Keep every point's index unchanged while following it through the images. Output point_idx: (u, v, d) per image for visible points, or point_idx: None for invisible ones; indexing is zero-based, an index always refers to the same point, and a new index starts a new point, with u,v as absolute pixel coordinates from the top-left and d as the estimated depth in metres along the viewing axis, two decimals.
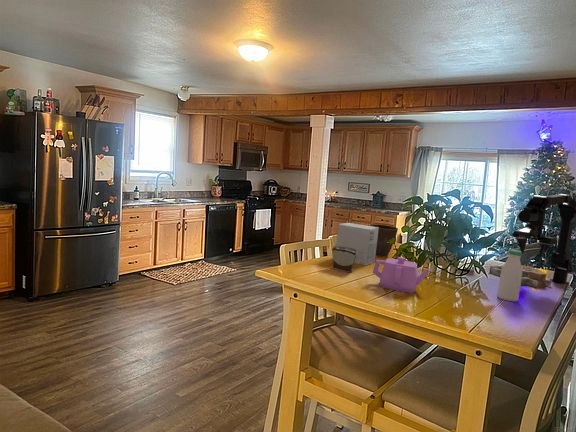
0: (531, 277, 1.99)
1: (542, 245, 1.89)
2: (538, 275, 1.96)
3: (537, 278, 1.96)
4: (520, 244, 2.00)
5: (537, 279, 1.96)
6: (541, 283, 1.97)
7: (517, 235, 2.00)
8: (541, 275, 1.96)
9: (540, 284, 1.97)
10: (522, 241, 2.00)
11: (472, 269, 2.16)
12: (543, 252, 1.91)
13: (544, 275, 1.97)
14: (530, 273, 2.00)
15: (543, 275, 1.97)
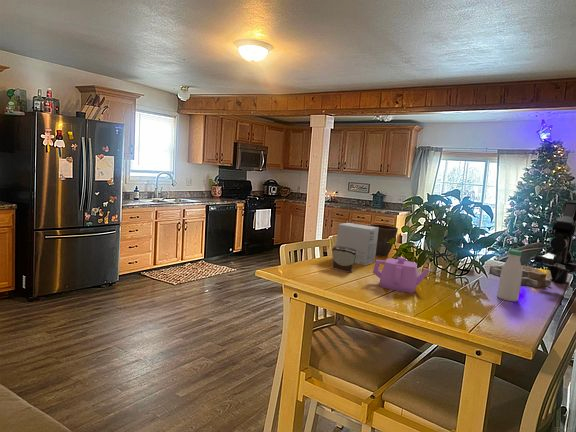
0: (531, 277, 1.99)
1: (556, 269, 1.89)
2: (538, 275, 1.96)
3: (537, 278, 1.96)
4: (551, 272, 1.92)
5: (537, 279, 1.96)
6: (541, 283, 1.97)
7: (539, 260, 1.95)
8: (541, 275, 1.96)
9: (540, 284, 1.97)
10: (554, 269, 1.92)
11: (472, 269, 2.16)
12: (557, 276, 1.91)
13: (544, 275, 1.97)
14: (530, 273, 2.00)
15: (543, 275, 1.97)
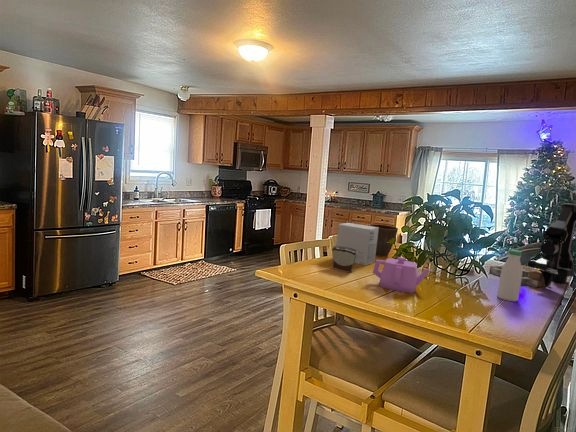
0: (531, 276, 1.99)
1: (549, 274, 1.91)
2: (538, 275, 1.96)
3: (537, 278, 1.96)
4: (545, 277, 1.94)
5: (537, 279, 1.96)
6: (541, 283, 1.97)
7: (532, 265, 1.98)
8: (541, 275, 1.96)
9: (540, 283, 1.97)
10: (547, 274, 1.94)
11: (472, 269, 2.16)
12: (550, 281, 1.93)
13: None
14: (530, 273, 2.00)
15: None
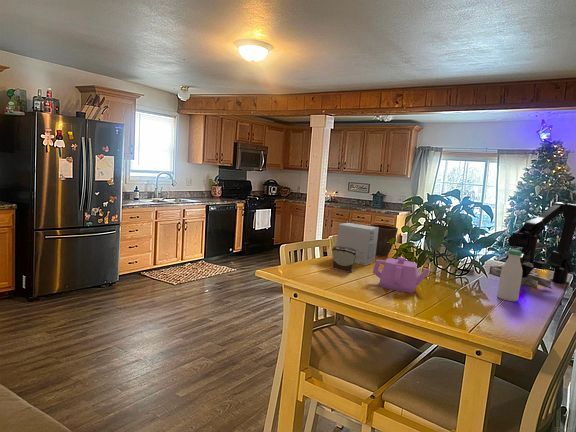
0: None
1: (525, 267, 2.02)
2: None
3: None
4: None
5: None
6: None
7: None
8: None
9: None
10: (523, 267, 2.05)
11: (472, 269, 2.16)
12: (526, 274, 2.04)
13: None
14: None
15: None
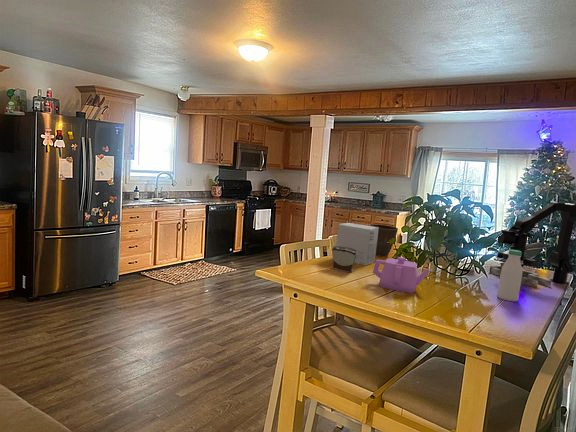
0: None
1: None
2: None
3: None
4: None
5: None
6: None
7: (501, 256, 2.13)
8: None
9: None
10: None
11: (472, 269, 2.16)
12: None
13: None
14: (501, 264, 2.16)
15: None
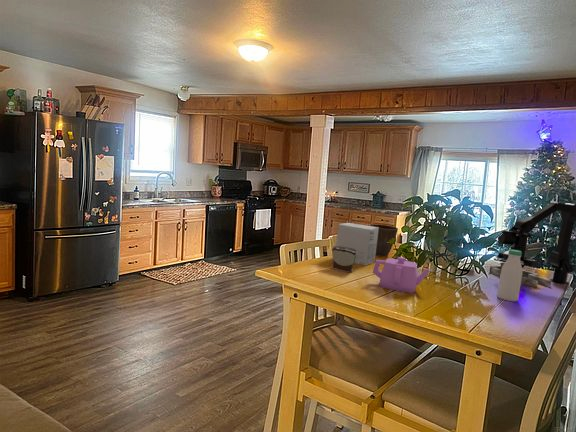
0: None
1: None
2: None
3: None
4: None
5: None
6: None
7: (502, 257, 2.13)
8: None
9: None
10: None
11: (472, 269, 2.16)
12: None
13: None
14: (501, 264, 2.16)
15: None
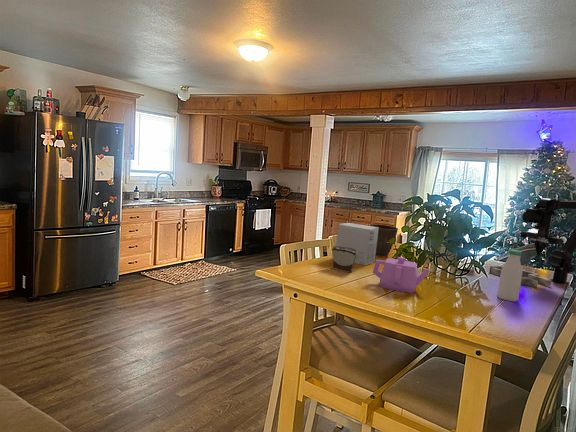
0: None
1: (540, 243, 2.04)
2: None
3: None
4: (536, 246, 2.07)
5: None
6: None
7: (525, 236, 2.10)
8: None
9: None
10: (538, 243, 2.07)
11: (472, 269, 2.16)
12: (541, 250, 2.06)
13: None
14: None
15: None
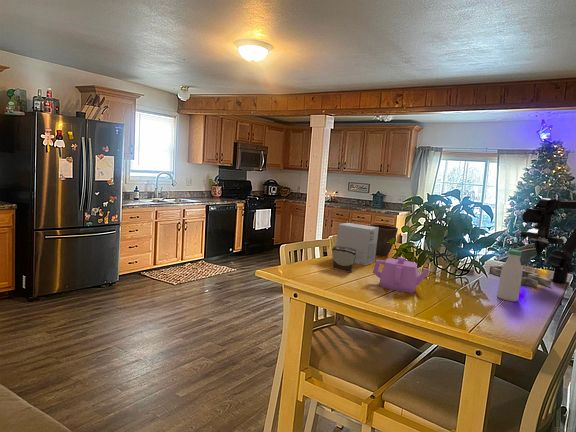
0: None
1: (540, 243, 2.04)
2: None
3: None
4: (536, 246, 2.07)
5: None
6: None
7: (525, 236, 2.10)
8: None
9: None
10: (538, 243, 2.07)
11: (472, 269, 2.16)
12: (541, 250, 2.06)
13: None
14: None
15: None
